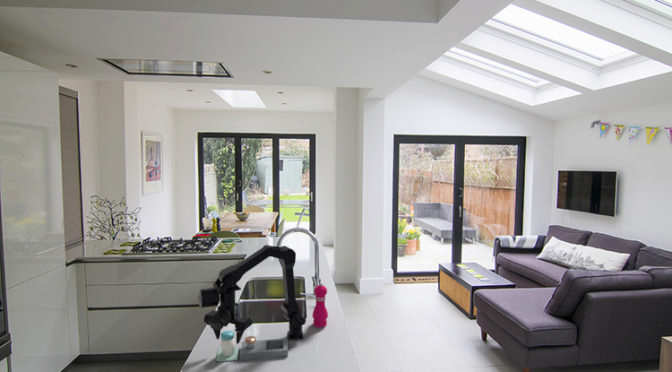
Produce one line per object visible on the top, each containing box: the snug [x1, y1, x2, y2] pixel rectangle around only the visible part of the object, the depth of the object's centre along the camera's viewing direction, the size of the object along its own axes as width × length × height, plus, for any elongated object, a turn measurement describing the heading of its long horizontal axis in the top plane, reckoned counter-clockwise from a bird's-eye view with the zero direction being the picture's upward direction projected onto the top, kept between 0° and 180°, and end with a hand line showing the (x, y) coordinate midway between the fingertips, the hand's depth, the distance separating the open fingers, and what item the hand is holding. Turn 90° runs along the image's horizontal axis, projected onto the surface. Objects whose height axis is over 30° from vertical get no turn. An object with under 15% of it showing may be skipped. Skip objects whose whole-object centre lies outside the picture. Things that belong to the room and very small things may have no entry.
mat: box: [214, 346, 241, 363], centre depth 137 cm, size 9×8×1 cm
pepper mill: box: [312, 282, 329, 328], centre depth 163 cm, size 7×7×20 cm
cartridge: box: [220, 330, 236, 357], centre depth 137 cm, size 5×5×8 cm
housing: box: [239, 337, 289, 361], centre depth 140 cm, size 9×18×2 cm, turn 100°
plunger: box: [244, 335, 257, 349], centre depth 139 cm, size 4×4×6 cm
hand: (228, 341), depth 137 cm, fingers open, 9 cm apart
